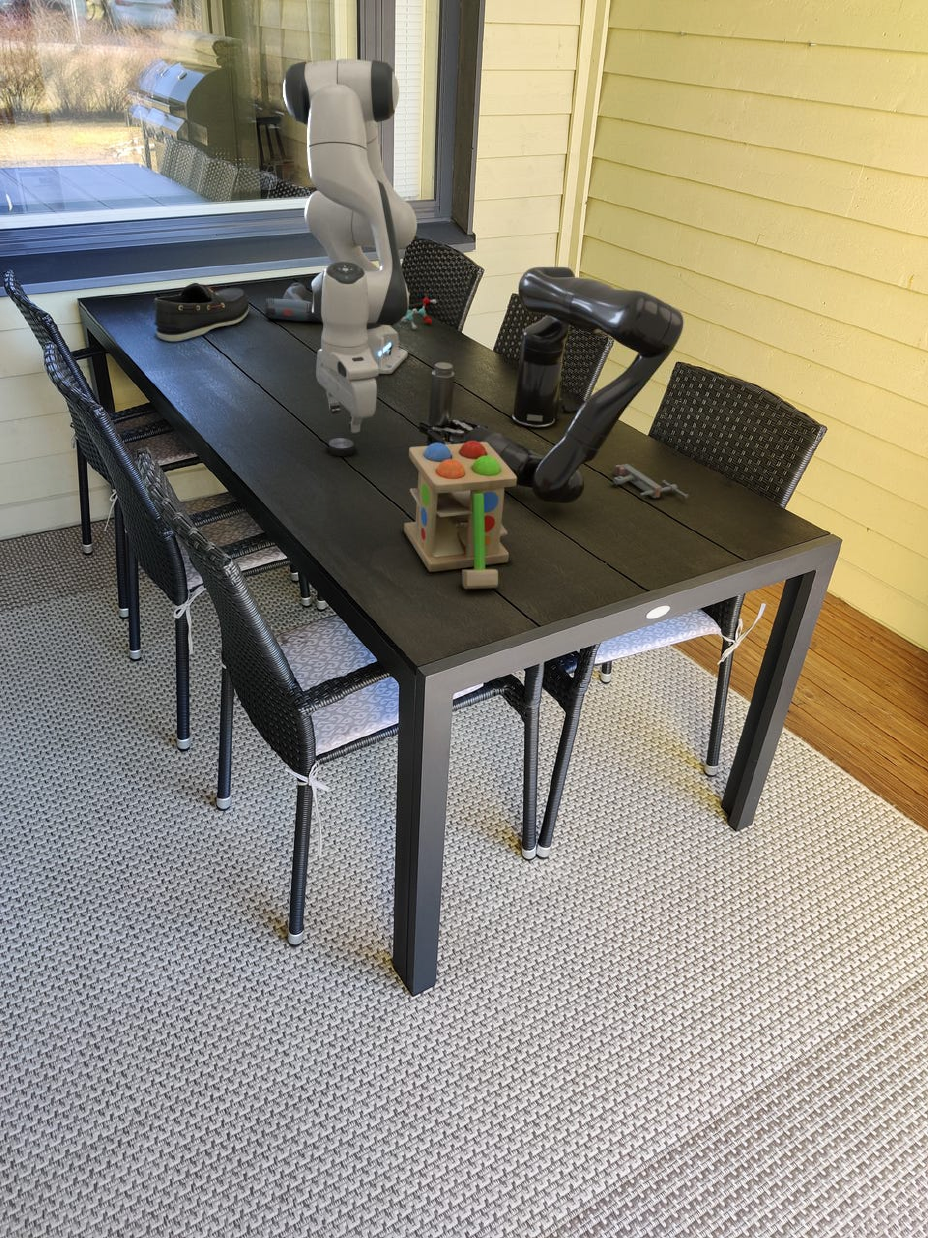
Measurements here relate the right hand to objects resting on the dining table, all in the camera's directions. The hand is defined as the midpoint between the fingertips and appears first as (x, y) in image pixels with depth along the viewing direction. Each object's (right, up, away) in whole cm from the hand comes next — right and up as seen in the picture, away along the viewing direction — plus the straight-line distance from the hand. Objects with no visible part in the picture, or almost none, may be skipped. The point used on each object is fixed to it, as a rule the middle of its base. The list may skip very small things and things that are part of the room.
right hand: (429, 422), depth 197 cm
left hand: (-17, 0, -3) cm, 17 cm away
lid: (-18, -5, -1) cm, 18 cm away
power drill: (-36, +44, +70) cm, 90 cm away
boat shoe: (-60, +36, +55) cm, 89 cm away
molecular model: (-7, +41, +69) cm, 81 cm away
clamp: (+43, -14, -4) cm, 45 cm away
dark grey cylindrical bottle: (+1, -6, +2) cm, 7 cm away
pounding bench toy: (+7, -29, -31) cm, 44 cm away
